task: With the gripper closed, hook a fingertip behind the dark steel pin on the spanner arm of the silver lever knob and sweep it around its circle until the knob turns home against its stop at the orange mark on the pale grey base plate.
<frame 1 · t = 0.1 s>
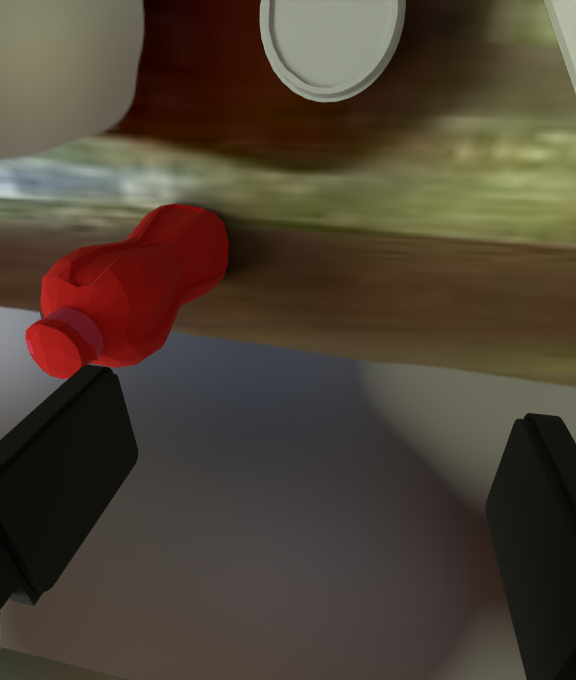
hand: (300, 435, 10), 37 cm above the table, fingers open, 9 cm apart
disposable coffee cup: (343, 38, 36), on the table
water bottle: (187, 241, 49), on the table
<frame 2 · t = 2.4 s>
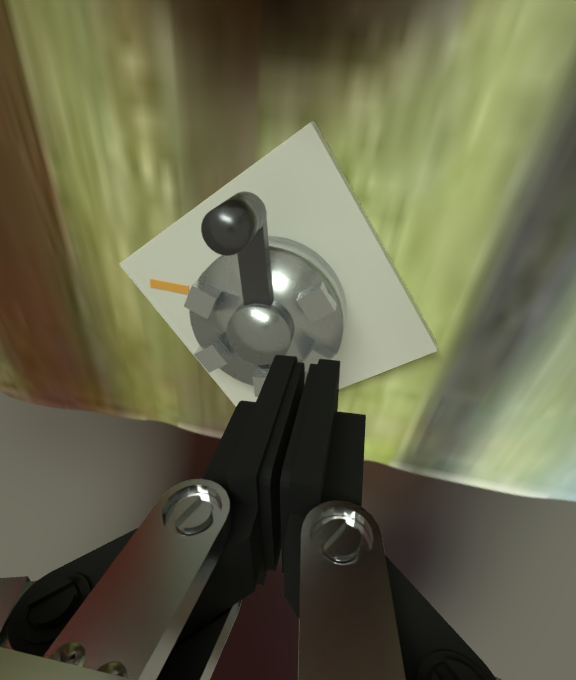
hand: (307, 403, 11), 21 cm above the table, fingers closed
base plate: (278, 297, 33), on the table
silver lever knob: (257, 308, 27), point 6 cm above the table, hinge at 0.0°
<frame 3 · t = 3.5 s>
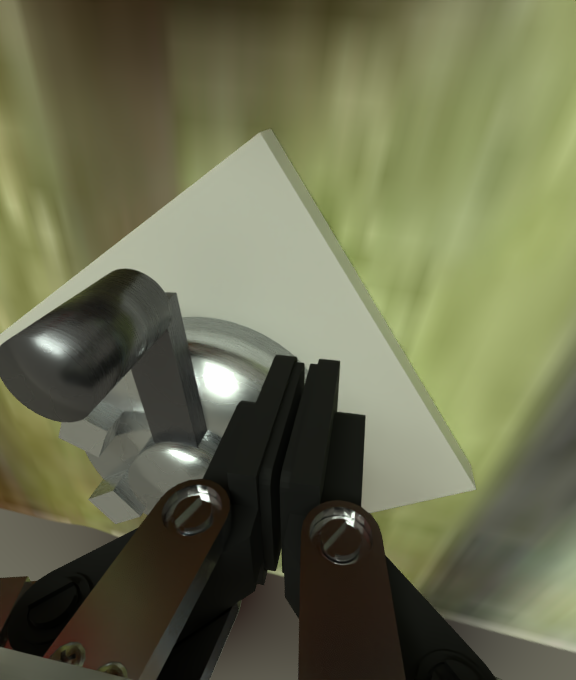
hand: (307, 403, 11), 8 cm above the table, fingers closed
base plate: (230, 394, 21), on the table
silver lever knob: (176, 448, 16), point 6 cm above the table, hinge at 0.0°
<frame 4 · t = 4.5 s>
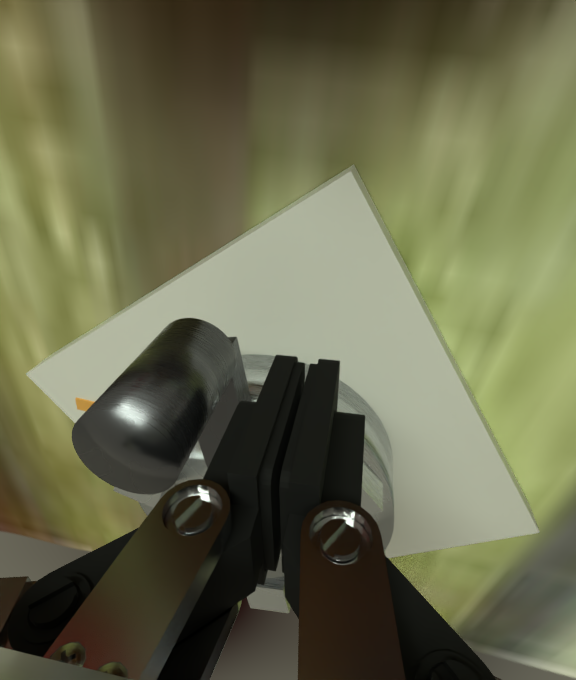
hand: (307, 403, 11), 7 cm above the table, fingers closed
base plate: (279, 428, 21), on the table
silver lever knob: (238, 496, 15), point 6 cm above the table, hinge at 5.4°, touching gripper
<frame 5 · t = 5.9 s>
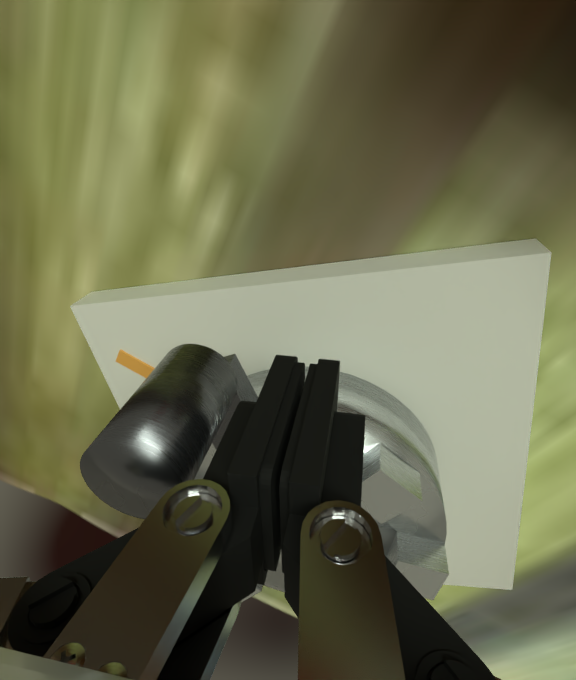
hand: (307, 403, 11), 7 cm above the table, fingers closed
base plate: (316, 439, 20), on the table
silver lever knob: (278, 512, 15), point 6 cm above the table, hinge at 41.6°, touching gripper
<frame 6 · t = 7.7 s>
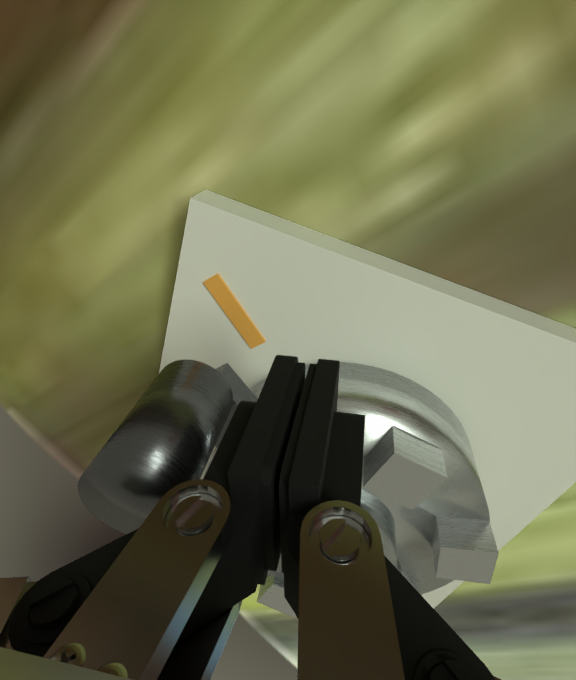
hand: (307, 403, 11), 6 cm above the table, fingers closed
base plate: (343, 437, 20), on the table
silver lever knob: (307, 515, 14), point 6 cm above the table, hinge at 83.1°, touching gripper
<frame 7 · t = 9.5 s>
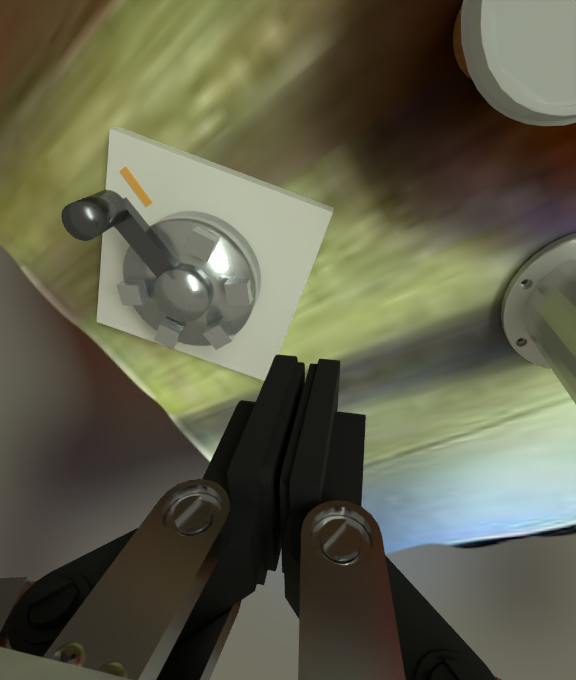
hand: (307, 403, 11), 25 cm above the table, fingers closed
disposable coffee cup: (504, 27, 26), on the table
base plate: (205, 267, 37), on the table
silver lever knob: (167, 275, 32), point 6 cm above the table, hinge at 82.3°
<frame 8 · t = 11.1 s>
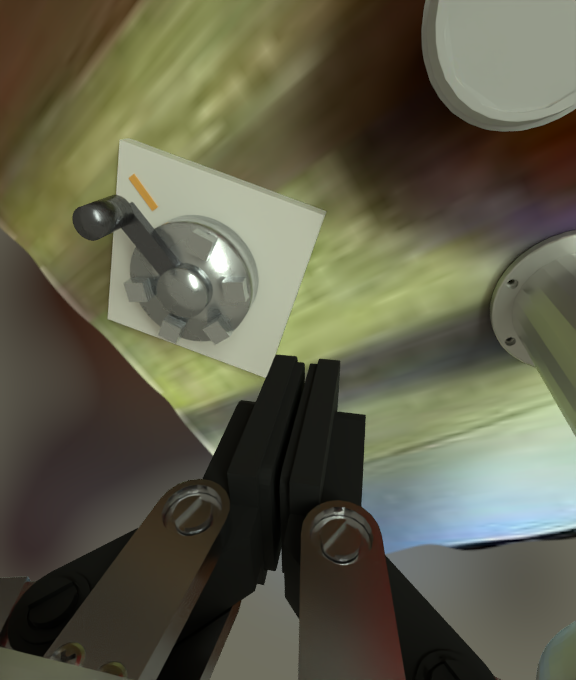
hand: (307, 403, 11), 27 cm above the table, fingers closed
disposable coffee cup: (482, 41, 27), on the table
base plate: (208, 268, 40), on the table
silver lever knob: (169, 273, 34), point 6 cm above the table, hinge at 82.3°
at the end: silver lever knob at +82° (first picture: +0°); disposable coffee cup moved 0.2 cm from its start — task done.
